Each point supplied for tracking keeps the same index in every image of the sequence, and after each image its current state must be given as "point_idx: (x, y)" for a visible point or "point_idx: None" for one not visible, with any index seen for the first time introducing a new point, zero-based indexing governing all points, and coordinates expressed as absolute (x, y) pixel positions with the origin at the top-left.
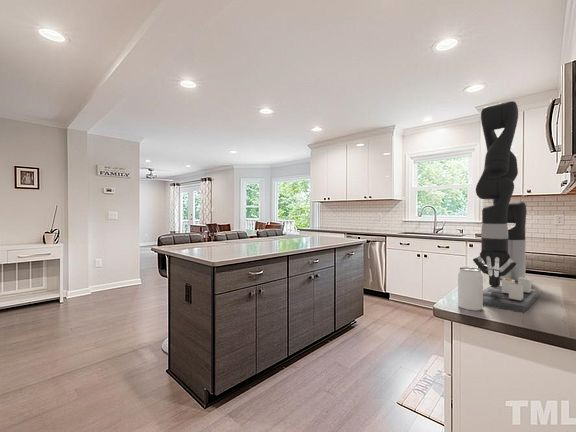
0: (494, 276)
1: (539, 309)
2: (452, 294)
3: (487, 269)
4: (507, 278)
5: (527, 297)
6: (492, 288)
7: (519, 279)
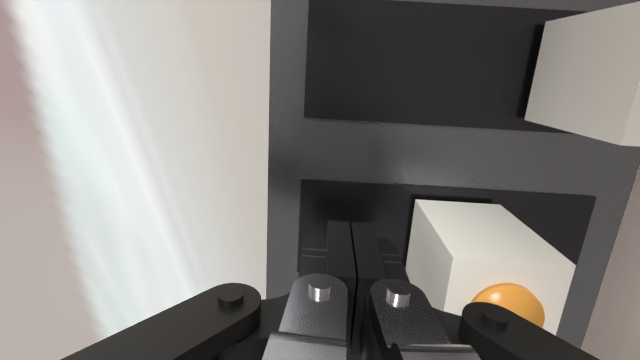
0: (353, 325)
1: (603, 321)
2: (107, 324)
3: (239, 332)
4: (497, 295)
5: (578, 263)
6: (309, 129)
7: (630, 143)
